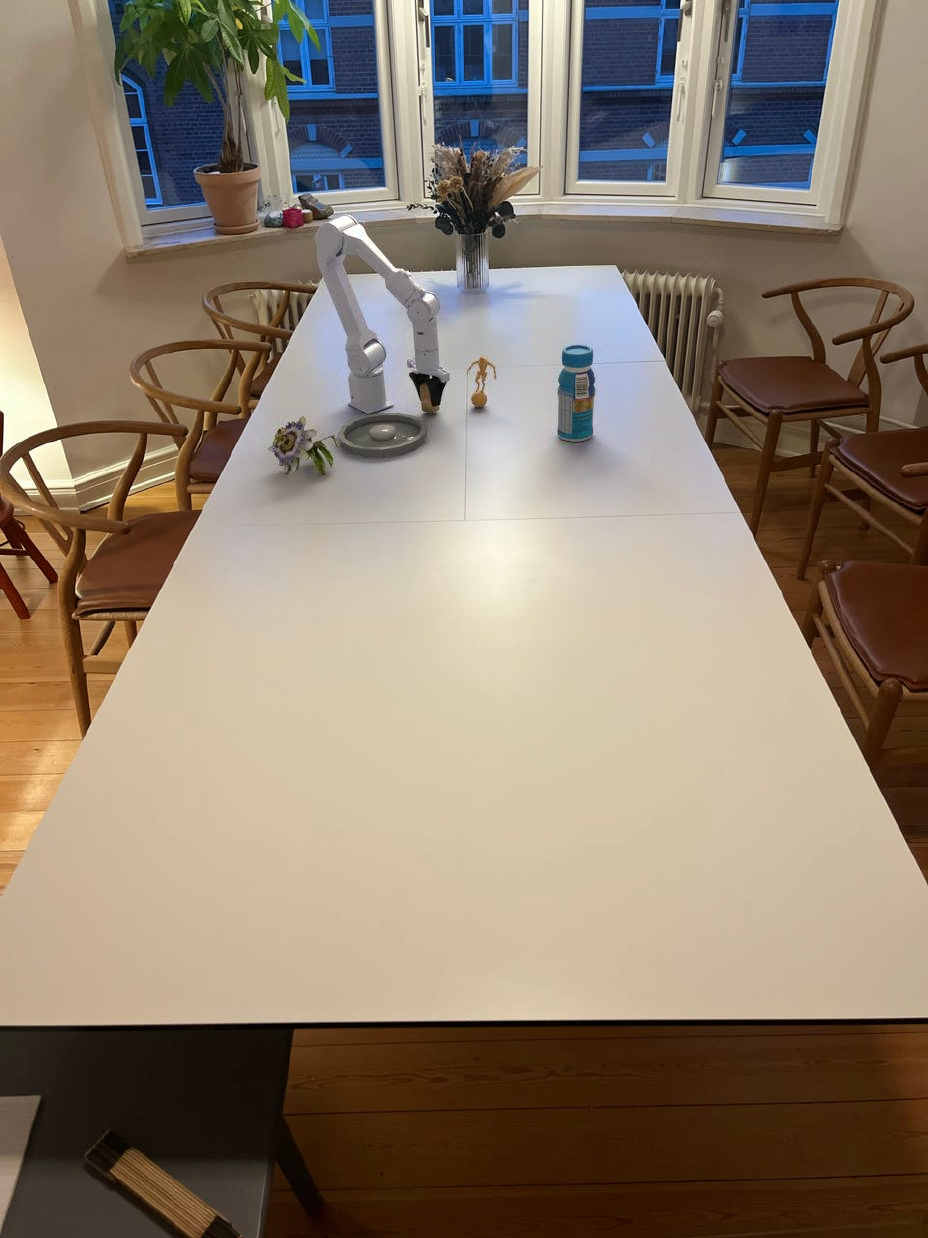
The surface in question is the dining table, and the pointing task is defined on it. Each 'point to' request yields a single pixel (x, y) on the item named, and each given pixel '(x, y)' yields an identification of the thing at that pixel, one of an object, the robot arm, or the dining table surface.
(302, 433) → the passion flower
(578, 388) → the beverage bottle
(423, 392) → the oak bead
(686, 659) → the dining table surface
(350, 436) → the round tray
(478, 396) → the figurine
